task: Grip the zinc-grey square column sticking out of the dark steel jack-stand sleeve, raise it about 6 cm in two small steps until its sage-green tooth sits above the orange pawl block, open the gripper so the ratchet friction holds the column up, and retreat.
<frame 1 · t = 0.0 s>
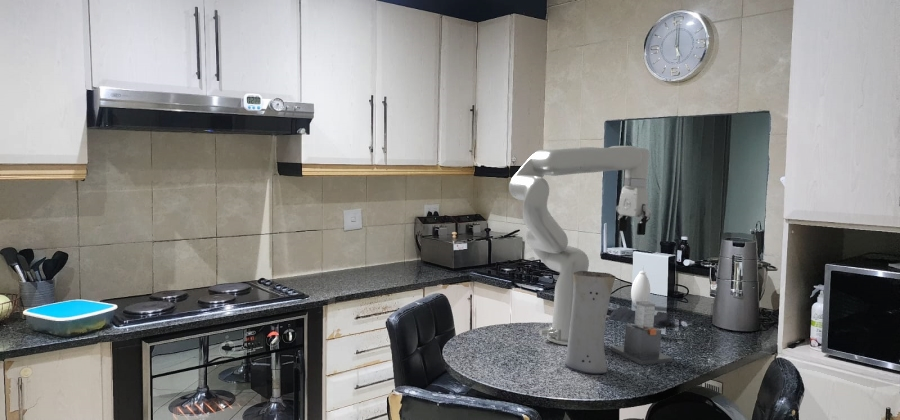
hand: (631, 232, 211), 37 cm above the breakfast bar, tool pointing down, fingers open, 9 cm apart
stand: (641, 356, 192), on the breakfast bar
white ovoid piece: (639, 307, 262), on the breakfast bar
dark slate chunk: (639, 321, 238), on the breakfast bar
column: (644, 327, 191), point 9 cm above the breakfast bar, slide at 0.0 cm
vase: (587, 368, 178), on the breakfast bar
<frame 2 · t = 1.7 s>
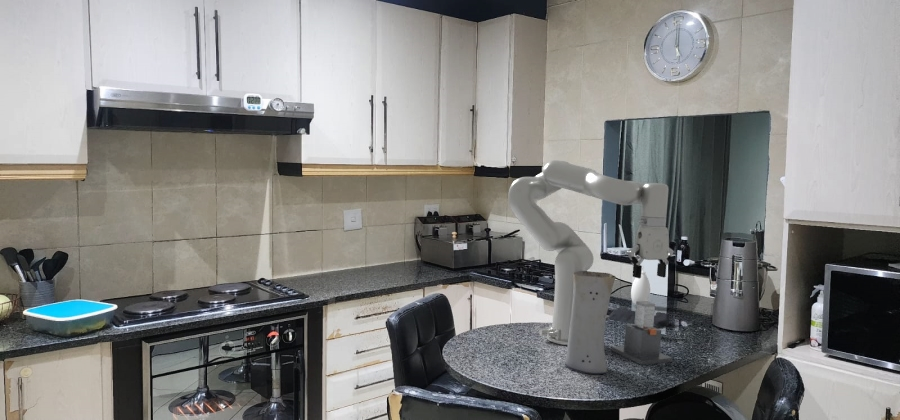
hand: (649, 277, 190), 25 cm above the breakfast bar, tool pointing down, fingers open, 9 cm apart
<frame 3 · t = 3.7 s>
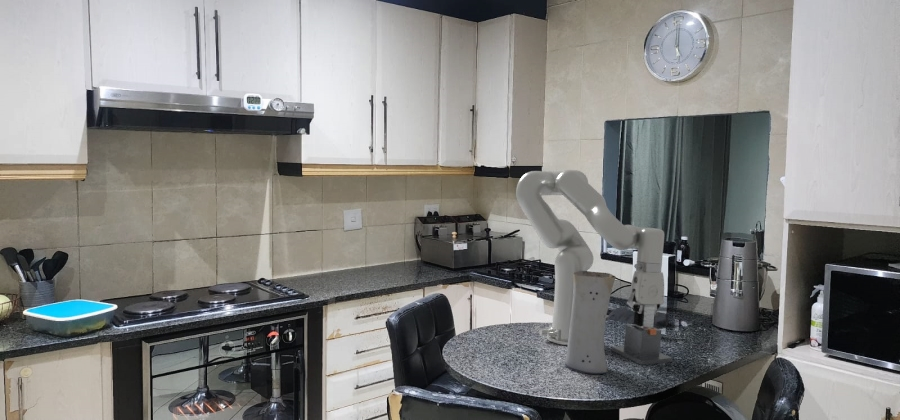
hand: (643, 324, 191), 10 cm above the breakfast bar, tool pointing down, fingers closed on column, 4 cm apart
column: (644, 327, 191), point 9 cm above the breakfast bar, slide at 0.0 cm, touching gripper
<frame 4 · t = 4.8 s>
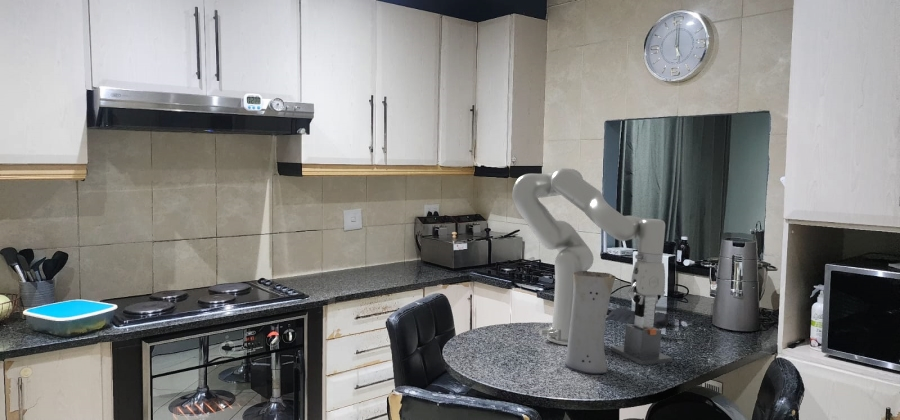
hand: (644, 315, 191), 13 cm above the breakfast bar, tool pointing down, fingers closed on column, 4 cm apart
column: (644, 318, 191), point 12 cm above the breakfast bar, slide at 2.9 cm, touching gripper
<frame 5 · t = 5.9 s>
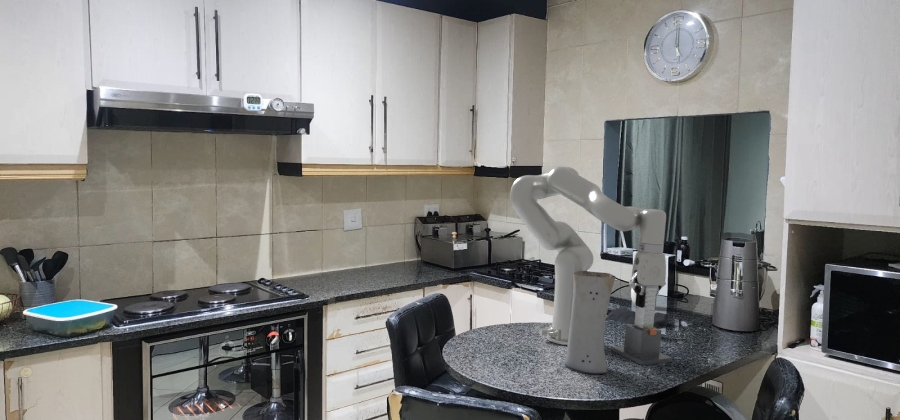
hand: (645, 305, 191), 16 cm above the breakfast bar, tool pointing down, fingers closed on column, 4 cm apart
column: (645, 309, 191), point 15 cm above the breakfast bar, slide at 5.9 cm, touching gripper
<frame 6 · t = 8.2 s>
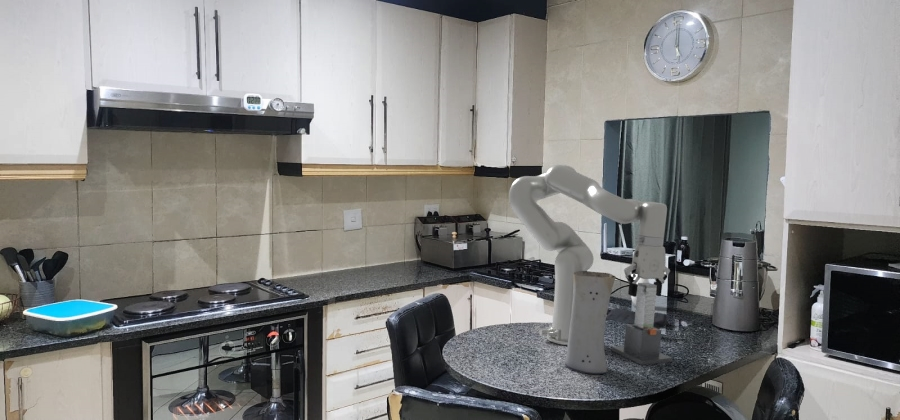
hand: (644, 295, 191), 19 cm above the breakfast bar, tool pointing down, fingers open, 9 cm apart
column: (645, 308, 191), point 15 cm above the breakfast bar, slide at 6.0 cm
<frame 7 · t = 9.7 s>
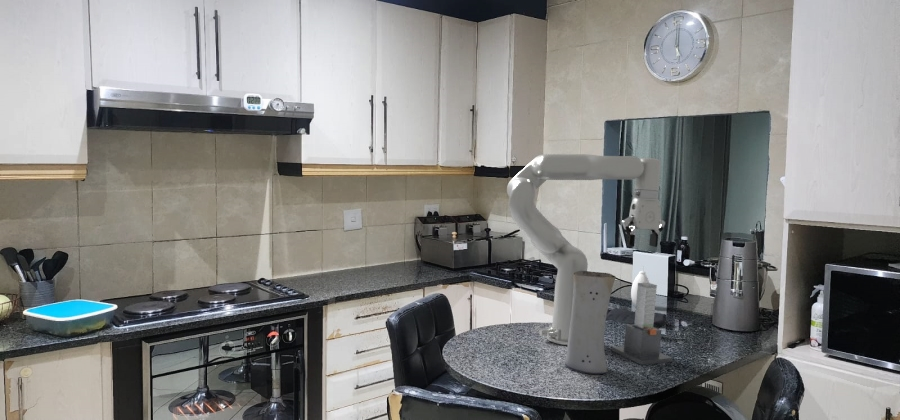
hand: (641, 246, 203), 33 cm above the breakfast bar, tool pointing down, fingers open, 9 cm apart
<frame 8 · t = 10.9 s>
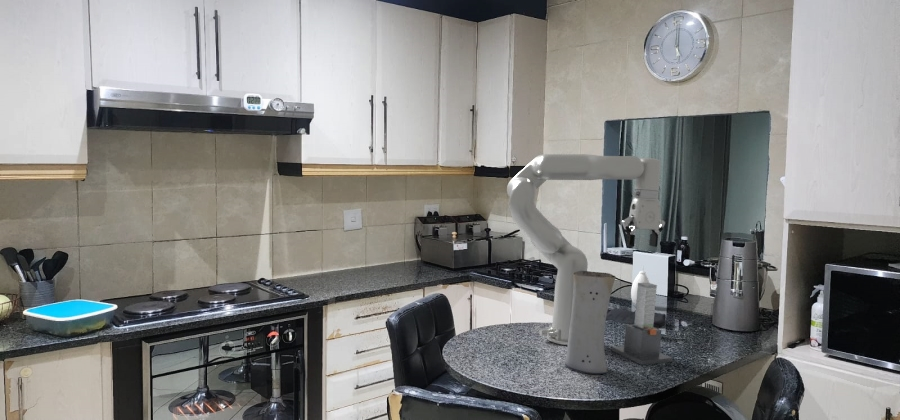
hand: (641, 246, 203), 33 cm above the breakfast bar, tool pointing down, fingers open, 9 cm apart
at the end: column slide at 6.0 cm; the gripper is holding nothing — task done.
